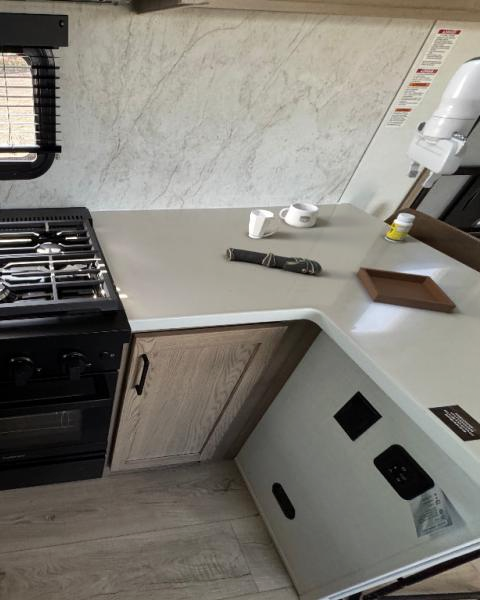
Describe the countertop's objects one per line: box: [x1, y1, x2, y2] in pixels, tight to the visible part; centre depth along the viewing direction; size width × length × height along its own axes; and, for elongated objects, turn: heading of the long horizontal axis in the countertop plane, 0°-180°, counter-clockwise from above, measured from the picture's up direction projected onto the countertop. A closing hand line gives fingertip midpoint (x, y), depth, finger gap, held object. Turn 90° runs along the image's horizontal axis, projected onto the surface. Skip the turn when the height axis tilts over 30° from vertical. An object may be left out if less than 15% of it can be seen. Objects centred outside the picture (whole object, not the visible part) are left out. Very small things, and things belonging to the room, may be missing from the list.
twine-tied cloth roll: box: [225, 247, 323, 275], centre depth 99 cm, size 4×5×25 cm
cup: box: [248, 209, 282, 240], centre depth 113 cm, size 7×10×8 cm
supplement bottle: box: [384, 212, 416, 243], centre depth 110 cm, size 5×5×8 cm
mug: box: [278, 202, 320, 228], centre depth 123 cm, size 12×10×6 cm
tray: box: [356, 266, 457, 314], centre depth 88 cm, size 16×14×2 cm
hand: (417, 181), depth 99 cm, fingers open, 8 cm apart
